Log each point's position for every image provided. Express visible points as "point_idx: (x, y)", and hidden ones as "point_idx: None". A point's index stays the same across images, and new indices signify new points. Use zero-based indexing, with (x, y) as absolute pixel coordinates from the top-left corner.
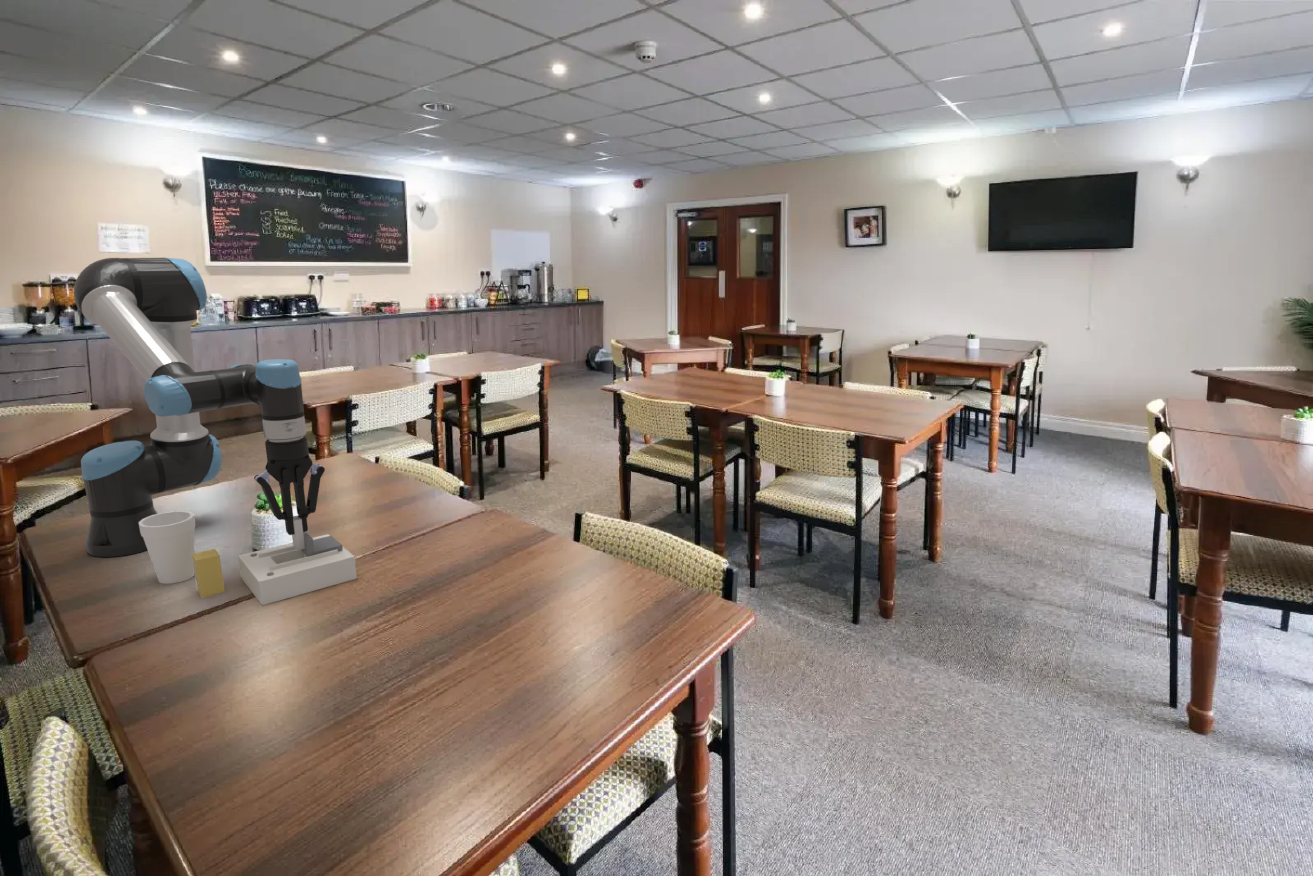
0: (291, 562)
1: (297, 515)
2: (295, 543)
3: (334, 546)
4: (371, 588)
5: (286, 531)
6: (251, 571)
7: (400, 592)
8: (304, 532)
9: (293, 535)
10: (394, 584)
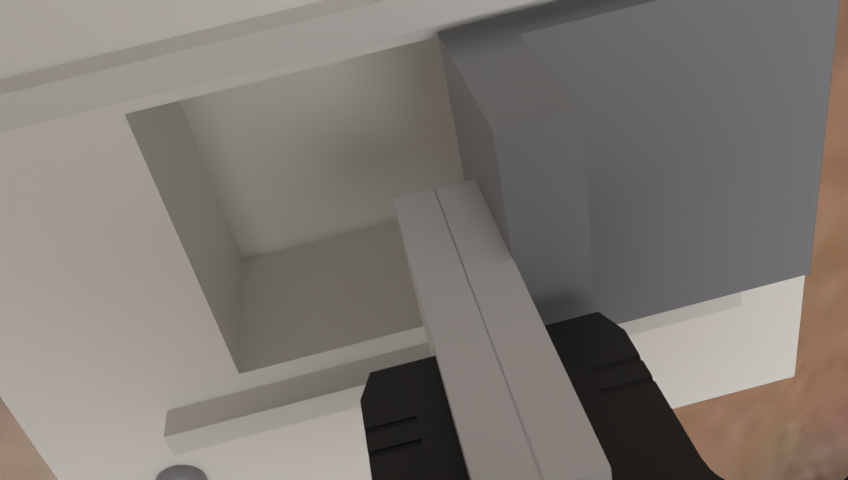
0: (347, 404)
1: (610, 472)
2: (425, 329)
3: (742, 283)
4: (719, 402)
5: (363, 408)
6: (5, 396)
7: (806, 475)
8: (573, 254)
9: (433, 352)
10: (829, 397)
